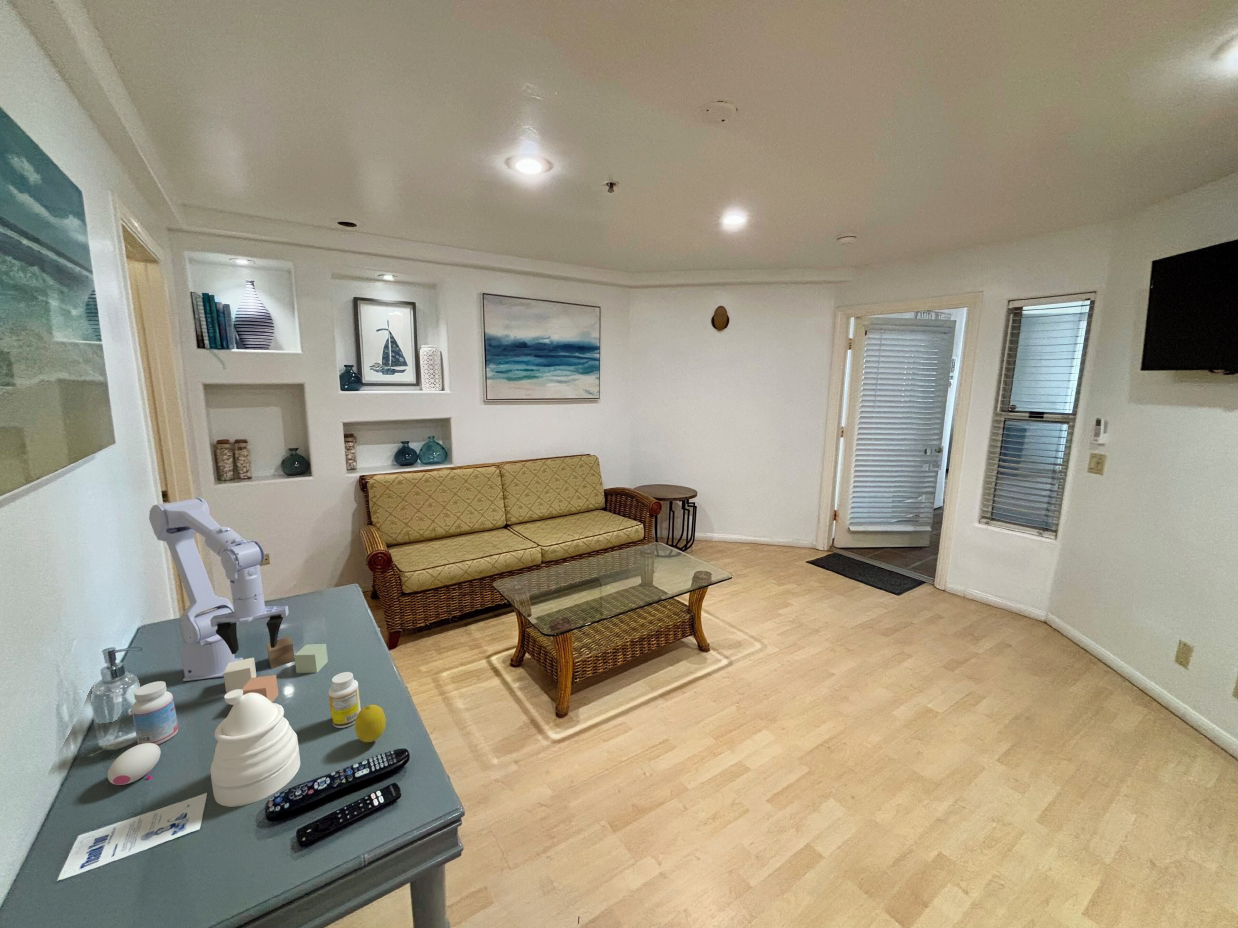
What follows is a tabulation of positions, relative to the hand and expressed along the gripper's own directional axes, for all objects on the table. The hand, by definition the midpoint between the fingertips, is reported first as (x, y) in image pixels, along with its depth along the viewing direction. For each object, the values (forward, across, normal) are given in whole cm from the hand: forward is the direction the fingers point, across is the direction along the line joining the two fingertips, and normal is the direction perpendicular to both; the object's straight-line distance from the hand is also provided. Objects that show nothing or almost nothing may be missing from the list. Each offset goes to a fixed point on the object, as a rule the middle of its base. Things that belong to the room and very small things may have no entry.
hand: (254, 648), depth 114 cm
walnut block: (+10, +2, +11) cm, 15 cm away
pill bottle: (+10, -14, -13) cm, 21 cm away
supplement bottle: (+10, +21, -21) cm, 31 cm away
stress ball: (+10, -13, -24) cm, 29 cm away
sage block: (+10, +10, +5) cm, 15 cm away
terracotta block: (+10, +2, -7) cm, 12 cm away
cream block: (+10, -4, +3) cm, 11 cm away
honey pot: (+10, +9, -32) cm, 35 cm away
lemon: (+10, +27, -30) cm, 41 cm away
